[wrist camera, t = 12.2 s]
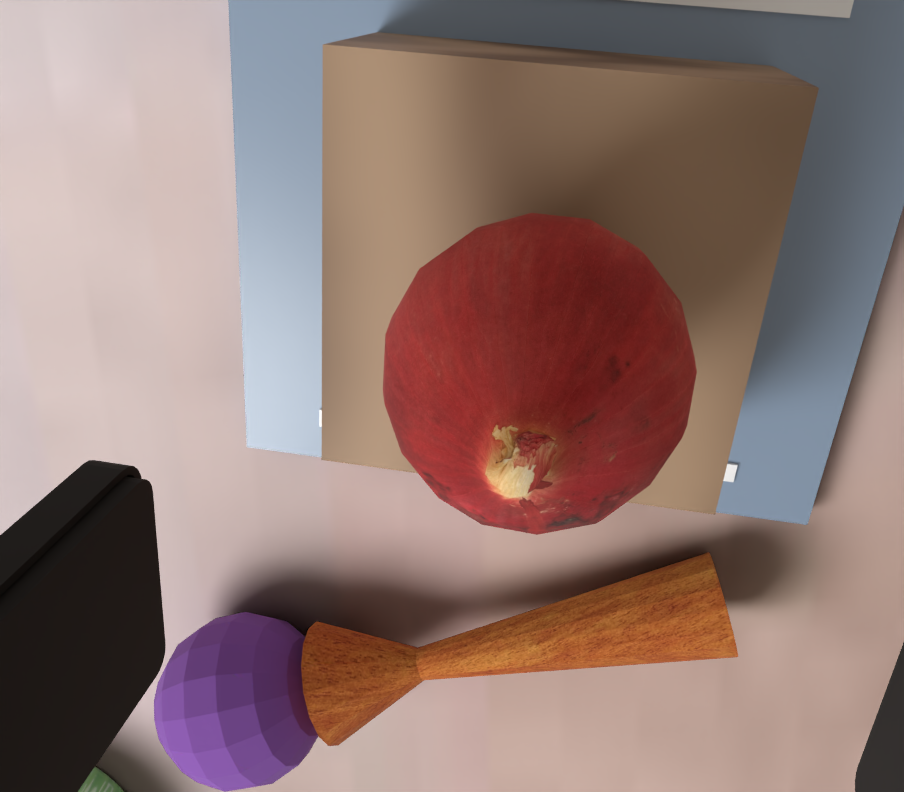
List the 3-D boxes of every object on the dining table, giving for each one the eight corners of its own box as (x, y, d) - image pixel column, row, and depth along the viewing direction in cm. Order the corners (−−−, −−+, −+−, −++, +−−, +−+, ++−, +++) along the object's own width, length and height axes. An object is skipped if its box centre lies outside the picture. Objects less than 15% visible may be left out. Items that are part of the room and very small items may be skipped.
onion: (699, 393, 20) (757, 622, 13) (464, 442, 21) (398, 670, 14) (646, 145, 18) (679, 254, 11) (388, 218, 19) (266, 357, 12)
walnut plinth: (772, 65, 21) (819, 87, 17) (694, 422, 26) (714, 514, 21) (377, 31, 22) (322, 44, 18) (367, 380, 27) (321, 459, 22)
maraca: (759, 740, 27) (186, 836, 31) (715, 595, 32) (225, 693, 36) (733, 615, 24) (97, 739, 27) (688, 475, 29) (153, 597, 32)
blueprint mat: (970, -58, 20) (985, -60, 19) (802, 510, 27) (808, 526, 27) (235, -109, 22) (222, -113, 21) (255, 435, 29) (245, 448, 28)
